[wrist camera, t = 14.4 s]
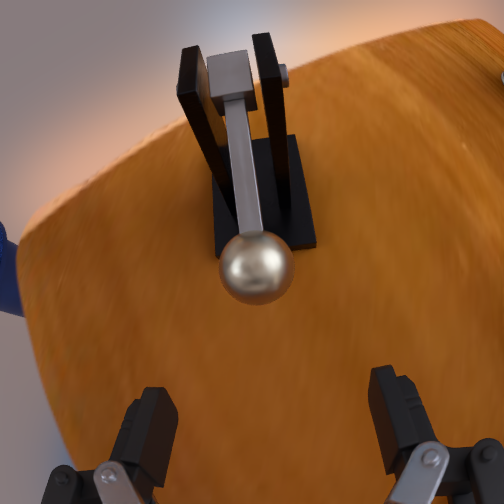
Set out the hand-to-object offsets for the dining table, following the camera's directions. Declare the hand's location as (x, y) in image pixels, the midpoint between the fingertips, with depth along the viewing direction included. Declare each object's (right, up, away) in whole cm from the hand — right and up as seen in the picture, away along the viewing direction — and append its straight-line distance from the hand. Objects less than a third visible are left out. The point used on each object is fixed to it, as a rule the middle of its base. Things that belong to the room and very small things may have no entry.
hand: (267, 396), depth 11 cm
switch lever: (-1, +9, +6) cm, 11 cm away
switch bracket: (0, +10, +16) cm, 19 cm away
